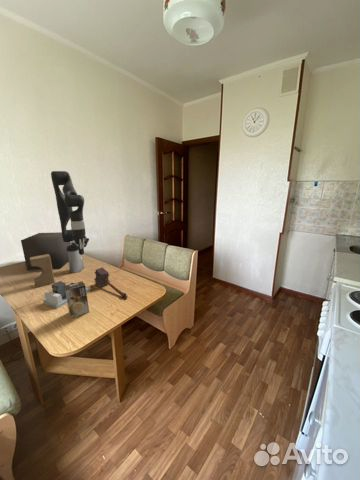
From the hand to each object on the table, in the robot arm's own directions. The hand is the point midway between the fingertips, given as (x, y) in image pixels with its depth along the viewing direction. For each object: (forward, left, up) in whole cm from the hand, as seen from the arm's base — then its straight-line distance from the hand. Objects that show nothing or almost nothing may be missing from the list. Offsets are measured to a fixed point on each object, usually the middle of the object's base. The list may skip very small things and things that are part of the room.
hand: (81, 254), depth 129 cm
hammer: (-4, +19, -23) cm, 31 cm away
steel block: (+18, 0, -22) cm, 28 cm away
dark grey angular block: (-17, -61, -23) cm, 67 cm away
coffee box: (+22, +20, -23) cm, 38 cm away
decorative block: (+9, -29, -23) cm, 38 cm away
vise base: (+13, 0, -23) cm, 26 cm away
